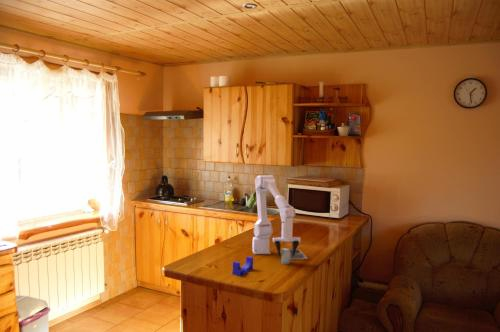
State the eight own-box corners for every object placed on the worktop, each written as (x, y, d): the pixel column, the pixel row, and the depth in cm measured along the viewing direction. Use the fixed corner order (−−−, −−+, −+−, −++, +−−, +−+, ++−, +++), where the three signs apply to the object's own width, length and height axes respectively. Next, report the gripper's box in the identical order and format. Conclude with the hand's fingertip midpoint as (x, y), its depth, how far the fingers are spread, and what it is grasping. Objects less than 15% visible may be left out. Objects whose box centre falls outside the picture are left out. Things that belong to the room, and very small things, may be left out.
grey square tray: (286, 259, 211) (286, 255, 211) (281, 253, 223) (281, 248, 223) (307, 259, 213) (308, 254, 213) (301, 252, 225) (302, 248, 225)
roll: (282, 264, 204) (283, 251, 204) (280, 261, 209) (281, 248, 208) (290, 264, 205) (291, 250, 204) (288, 261, 209) (289, 248, 209)
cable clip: (239, 276, 185) (240, 264, 185) (232, 274, 188) (232, 262, 187) (255, 270, 195) (255, 258, 194) (248, 268, 197) (248, 256, 197)
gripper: (275, 231, 200) (274, 257, 201) (302, 231, 203) (301, 257, 204) (272, 228, 207) (271, 253, 208) (298, 228, 210) (297, 253, 211)
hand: (286, 255), depth 206 cm, fingers open, 7 cm apart
